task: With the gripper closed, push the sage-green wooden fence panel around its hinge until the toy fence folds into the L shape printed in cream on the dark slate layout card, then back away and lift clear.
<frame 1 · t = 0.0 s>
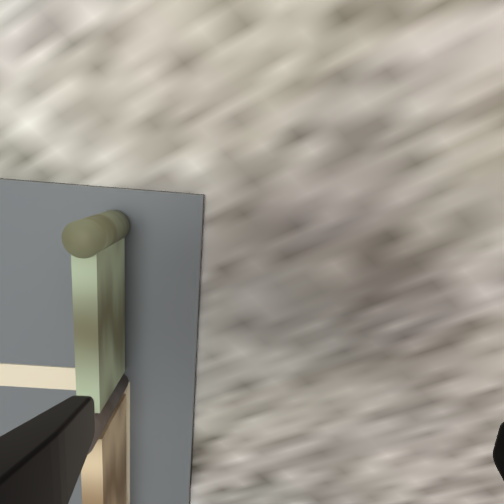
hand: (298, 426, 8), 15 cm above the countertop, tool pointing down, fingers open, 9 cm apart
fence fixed: (119, 377, 24), resting on layout card
layout card: (51, 373, 24), on the countertop
folding panel: (100, 308, 20), point 3 cm above the countertop, hinge at 0.0°
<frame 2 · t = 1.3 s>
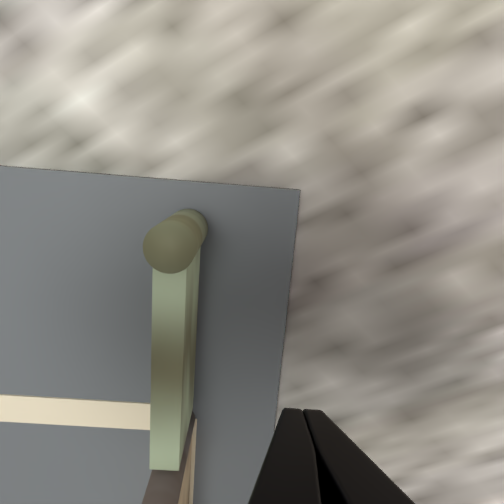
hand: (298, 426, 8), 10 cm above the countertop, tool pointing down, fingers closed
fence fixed: (183, 412, 20), resting on layout card
layout card: (100, 407, 19), on the countertop
folding panel: (176, 334, 15), point 3 cm above the countertop, hinge at 0.0°
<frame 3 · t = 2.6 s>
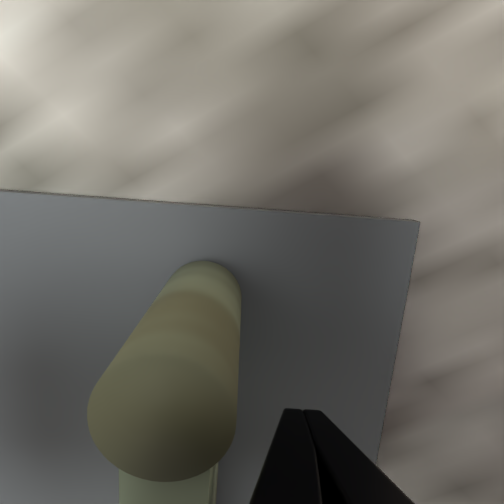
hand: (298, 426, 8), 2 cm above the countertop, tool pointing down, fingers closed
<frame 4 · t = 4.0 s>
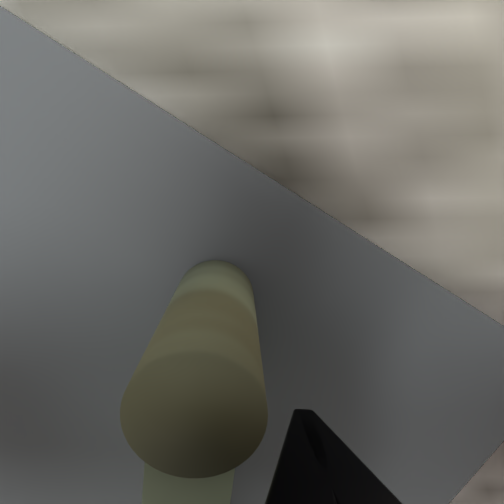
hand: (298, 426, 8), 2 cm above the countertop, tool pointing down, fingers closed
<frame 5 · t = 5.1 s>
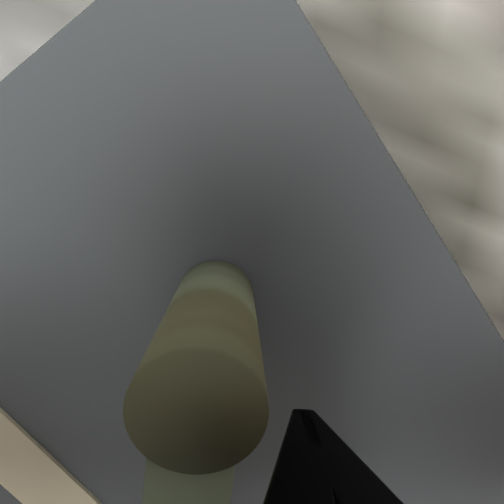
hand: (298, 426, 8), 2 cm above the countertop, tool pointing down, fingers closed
layout card: (84, 502, 11), on the countertop
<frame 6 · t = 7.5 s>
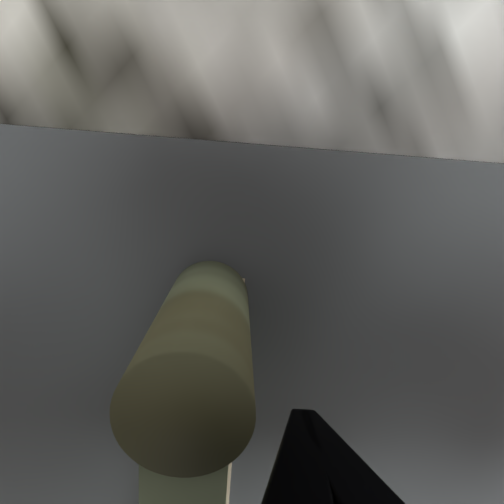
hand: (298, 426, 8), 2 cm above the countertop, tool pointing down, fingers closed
layout card: (203, 474, 11), on the countertop
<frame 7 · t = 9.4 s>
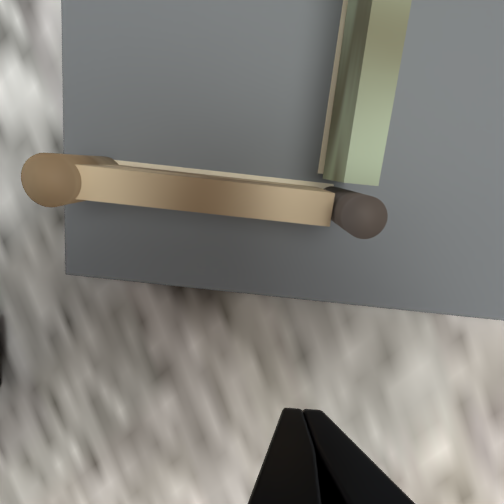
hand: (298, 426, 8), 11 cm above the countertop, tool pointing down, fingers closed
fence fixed: (328, 200, 17), resting on layout card
layout card: (344, 100, 16), on the countertop
folding panel: (370, 37, 13), point 3 cm above the countertop, hinge at 90.5°
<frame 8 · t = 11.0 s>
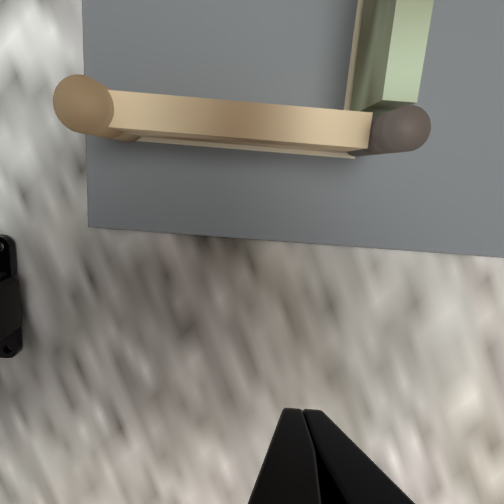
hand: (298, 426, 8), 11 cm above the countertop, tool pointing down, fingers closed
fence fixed: (354, 141, 17), resting on layout card
layout card: (368, 37, 16), on the countertop
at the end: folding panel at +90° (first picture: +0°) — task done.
